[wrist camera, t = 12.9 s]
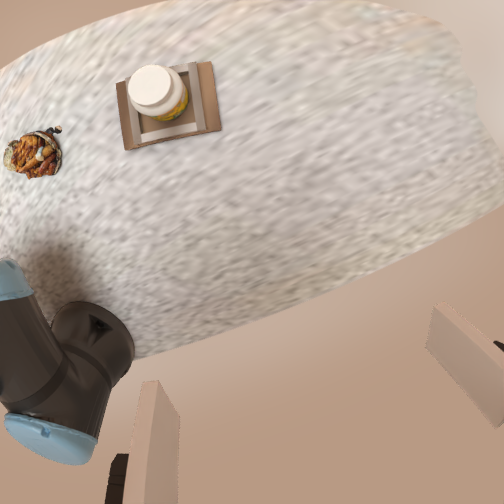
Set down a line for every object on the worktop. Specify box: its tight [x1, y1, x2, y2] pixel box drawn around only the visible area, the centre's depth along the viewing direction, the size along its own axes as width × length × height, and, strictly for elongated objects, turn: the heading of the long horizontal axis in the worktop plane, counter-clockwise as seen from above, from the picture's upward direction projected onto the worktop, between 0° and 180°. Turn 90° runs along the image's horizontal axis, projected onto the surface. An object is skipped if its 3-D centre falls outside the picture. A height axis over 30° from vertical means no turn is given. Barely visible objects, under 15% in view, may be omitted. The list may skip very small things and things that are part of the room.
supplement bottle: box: [128, 65, 189, 121], centre depth 25 cm, size 5×5×10 cm
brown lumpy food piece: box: [4, 126, 62, 179], centre depth 29 cm, size 7×12×4 cm, turn 90°
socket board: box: [116, 61, 221, 150], centre depth 30 cm, size 12×9×3 cm
